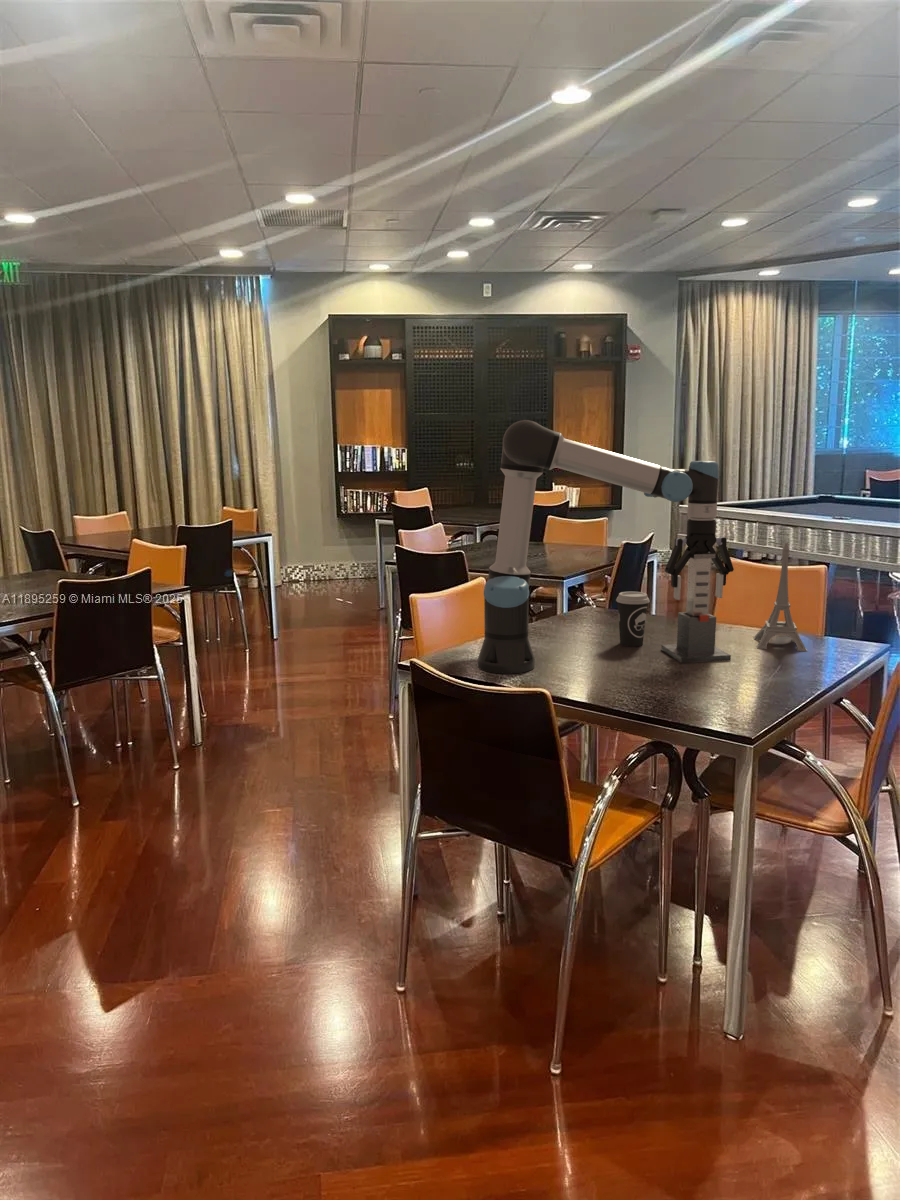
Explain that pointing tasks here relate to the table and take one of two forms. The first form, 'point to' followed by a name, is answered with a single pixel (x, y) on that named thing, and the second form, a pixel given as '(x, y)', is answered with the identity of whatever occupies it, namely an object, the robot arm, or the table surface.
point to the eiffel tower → (782, 603)
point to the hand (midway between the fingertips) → (697, 598)
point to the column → (698, 584)
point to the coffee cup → (632, 617)
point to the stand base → (696, 640)
